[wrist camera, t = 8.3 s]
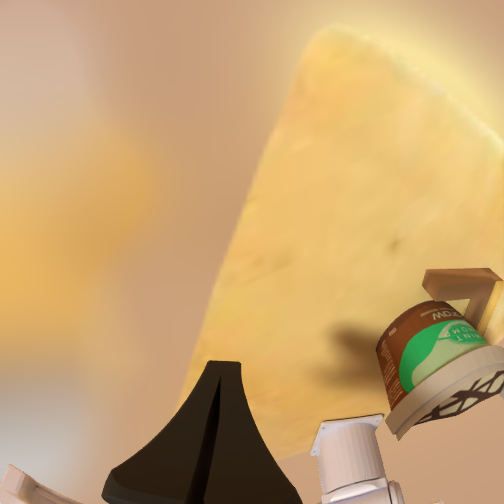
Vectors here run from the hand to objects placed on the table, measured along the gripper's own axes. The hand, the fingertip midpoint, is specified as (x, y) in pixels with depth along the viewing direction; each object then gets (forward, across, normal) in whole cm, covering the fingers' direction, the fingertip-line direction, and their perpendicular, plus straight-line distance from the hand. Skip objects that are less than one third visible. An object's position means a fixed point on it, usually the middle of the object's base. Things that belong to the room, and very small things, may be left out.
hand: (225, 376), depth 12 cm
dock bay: (+10, -20, +6) cm, 23 cm away
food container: (+10, -17, +5) cm, 20 cm away
